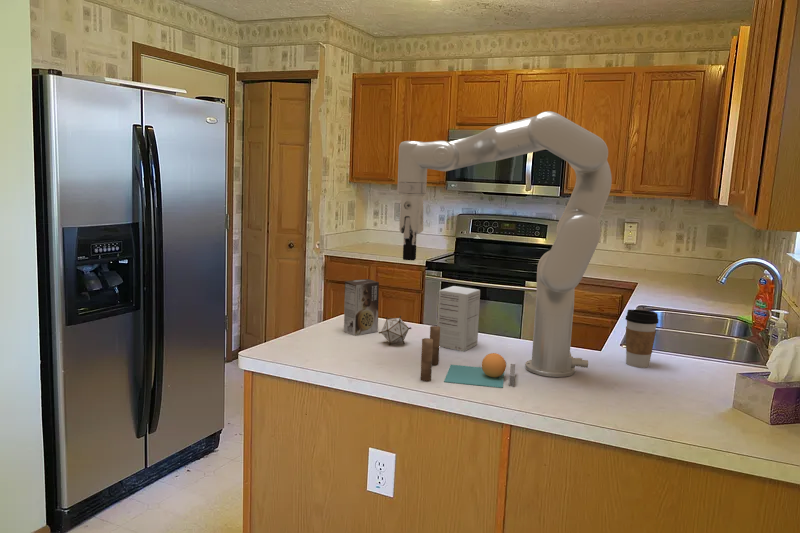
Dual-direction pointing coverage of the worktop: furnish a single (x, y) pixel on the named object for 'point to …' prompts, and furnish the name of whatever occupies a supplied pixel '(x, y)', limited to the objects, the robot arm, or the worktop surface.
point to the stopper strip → (512, 375)
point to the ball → (493, 365)
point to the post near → (426, 359)
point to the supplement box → (458, 317)
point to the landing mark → (472, 376)
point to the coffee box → (361, 306)
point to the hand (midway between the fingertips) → (409, 259)
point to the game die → (395, 330)
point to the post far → (435, 344)
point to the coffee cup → (640, 337)
